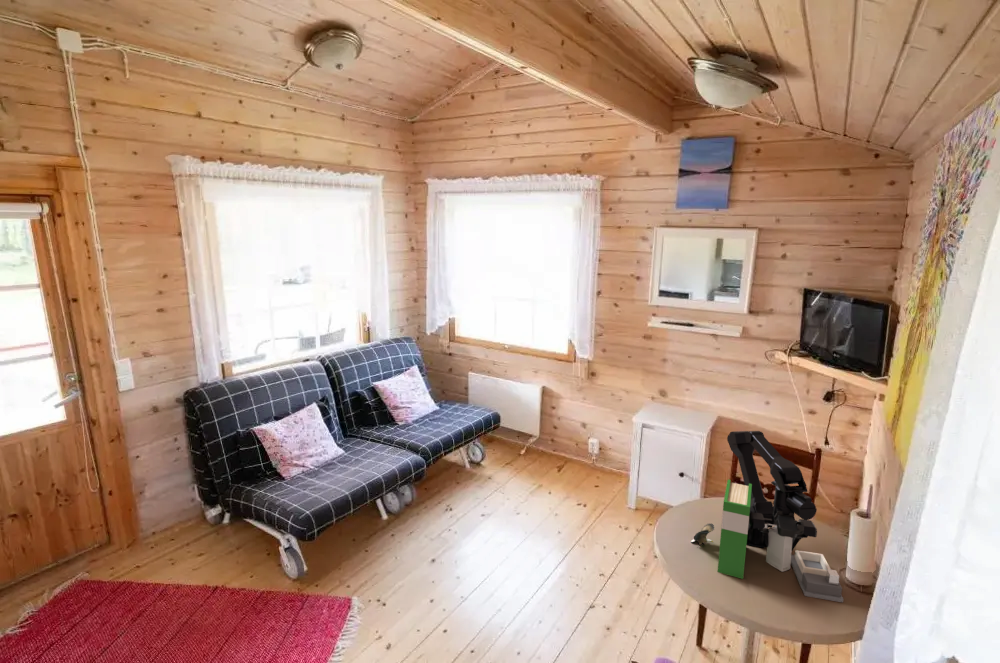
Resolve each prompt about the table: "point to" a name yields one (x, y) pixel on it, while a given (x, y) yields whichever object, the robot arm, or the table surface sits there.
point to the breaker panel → (814, 576)
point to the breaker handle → (832, 576)
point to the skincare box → (779, 550)
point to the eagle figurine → (703, 535)
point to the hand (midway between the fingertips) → (778, 548)
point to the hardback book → (734, 529)
